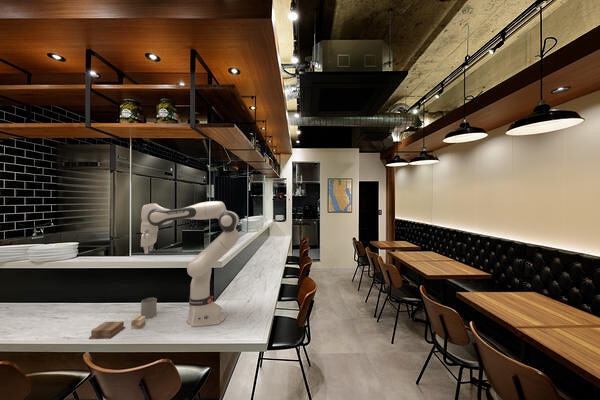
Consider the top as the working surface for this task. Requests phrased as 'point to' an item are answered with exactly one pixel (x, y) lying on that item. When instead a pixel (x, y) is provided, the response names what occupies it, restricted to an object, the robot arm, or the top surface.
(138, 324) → the maple cube
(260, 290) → the top surface
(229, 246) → the robot arm
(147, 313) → the cup
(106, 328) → the walnut pedestal
